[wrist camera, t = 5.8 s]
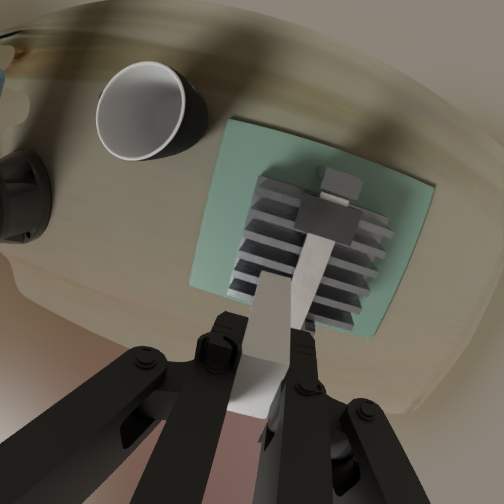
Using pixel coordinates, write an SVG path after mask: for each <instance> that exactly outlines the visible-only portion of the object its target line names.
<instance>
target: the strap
mask: <svg viewBox="0 0 504 504" xmlns="http://www.w3.org/2000/svg"><path fill="white" fill-rule="evenodd" d="M348 204H349V200H348V199H345V198H342V197H339V196H336V195H333V194H330V193H327V192H324V191H321V192H320V195H319V196H317V195H314V194H310V193H307V192H304V194H303V197H302V200H301V203H300V206H299V210H298V213H297V216H296V219H295V222H294V227H293V228H294V229H298V230H301V231H304V232H307V235H306V238H305V241H304V244H303V247H302V250H301V253H300V255H299V258H298V261H297V264H296V267H295V270H294V273H293V276H292V278H291V328H294V329H299V330H300V329H301V327H302V325H303V322H304V320H305V318H306V315H307V313H308V311H309V308H310V306H311V303H312V301H313V298H314V296H315V293H316V291H317V288H318V286H319V283H320V281H321V278H322V276H323V273H324V271H325V268H326V265H327V263H328V260H329V257H330V255H331V252H332V249H333V247H334V244H335V242H338V243H341V244H345V245H348V246H351V244H352V241H353V238H354V236H355V233H356V230H357V227H358V225H359V222H360V219H361V216H362V213H363V212H362V211H361V210H358V209H355V208H353V207H350V206H348Z"/></svg>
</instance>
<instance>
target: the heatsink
mask: <svg viewBox="0 0 504 504" xmlns="http://www.w3.org/2000/svg"><path fill="white" fill-rule="evenodd" d="M316 175H317V176H319V177H320V178H322V181H321V184H320V188H321V189H324V190H327V191H330V192H333V193H336V194H339V195H342V196H345V197H348V198H351V199H354V200H357V199H358V196H359V193H360V192H361V188H362V185H363V182H364V180H363V179H360V178H357V177H355V176H352V175H349V174H346V173H343V172H340V171H337V170H335V169H332V168H329V167H325V166H319V165H318V168H317V172H316ZM304 192H307V193H310V194H314V195H317V196H319V195H320V192H317V191H314V190H311V189H308V188H304V187H301V186H298V185H295V184H291V183H288V182H285V181H281V180H278V179H275V178H271V177H268V176H264V175H258V179H257V182H256V186H255V189H254V193H253V197H252V200H251V204H250V208H249V211H248V215H247V219H246V222H245V226H244V230H243V233H242V237H241V241H240V245H239V248H238V252H237V256H236V260H235V263H234V267H233V271H232V275H231V278H230V282H229V283H231V285H230V287H229V288H228V292H227V295H230V296H233V297H236V298H239V299H242V300H245V301H249V302H252V303H253V299H254V296H255V292H256V289H257V285H258V281H259V278H260V274H261V270H262V271H266V272H269V273H273V274H277V275H280V276H284V277H288V278H292V276H293V273H294V270H295V267H296V264H297V261H298V258H299V255H300V253H301V250H302V247H303V244H304V241H305V238H306V235H307V232H304V231H301V230H298V229H294V228H293V227H294V222H295V219H296V216H297V213H298V210H299V206H300V203H301V200H302V197H303V194H304ZM348 206H350V207H353V208H355V209H358V210H361V211H362V212H363V213H362V216H361V219H360V222H359V225H358V227H357V230H356V233H355V236H354V238H353V241H352V244H351V246H348V245H345V244H341V243H338V242H335V244H334V247H333V249H332V252H331V255H330V257H329V260H328V263H327V265H326V268H325V271H324V273H323V276H322V278H321V281H320V283H319V286H318V288H317V291H316V293H315V296H314V298H313V301H312V303H311V306H310V308H309V311H308V313H307V315H306V318H305V320H304V322H303V325H302V327H301V329H300V330H303V331H307V332H310V334H311V335H312V337H313V336H314V334H315V321H316V322H320V323H323V324H327V325H330V326H334V327H338V328H342V329H345V330H349V331H352V330H353V327H354V322H353V319H352V316H351V312H352V313H355V314H359V315H360V313H361V311H362V306H361V303H360V301H359V298H358V296H359V295H362V296H366V297H368V296H369V294H370V291H371V290H370V288H369V286H368V284H367V282H366V281H365V280H366V277H367V276H369V277H372V278H377V275H378V273H379V271H378V270H377V268H376V267H375V265H374V264H373V260H374V258H375V256H376V257H379V258H382V259H384V258H385V256H386V253H387V252H386V251H385V250H384V249H383V247H382V246H381V245H380V242H381V240H382V237H383V236H385V237H387V238H390V239H392V238H393V235H394V231H393V230H391V229H390V228H389V227H388V226H387V223H388V220H389V218H388V217H386V216H385V215H383V214H380V213H378V212H375V211H372V210H369V209H367V208H364V207H361V206H358V205H356V204H353V203H350V202H349V204H348Z"/></svg>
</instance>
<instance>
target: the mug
mask: <svg viewBox="0 0 504 504" xmlns="http://www.w3.org/2000/svg"><path fill="white" fill-rule="evenodd" d="M207 123H208V111H207V107H206V104H205V102H204V100H203V98H202V96H201V95H200V94H199V92H198V91H197V90H196V89H195V87H194V86H193V85H192V84H191V83H190V82H189V81H188V80H187V79H186V78H184V77H183V76H182V75H181V74H180V73H178V72H177V71H176V70H174V69H172V68H171V67H169V66H167V65H165V64H163V63H160V62H155V61H143V62H138V63H135V64H132V65H130V66H128V67H126V68H124V69H123V70H121V71H120V72H119V73H117V74H116V75H115V76H114V77H113V78H112V79H111V80H110V82H109V83H108V84H107V86H106V87H105V89H104V91H103V92H102V93H101V94H100V96H99V103H98V107H97V113H96V125H97V131H98V134H99V137H100V140H101V142H102V143H103V145H104V146H105V148H106V149H107V150H108V151H109V152H110V153H112V154H113V155H114V156H116V157H118V158H121V159H124V160H129V161H145V160H153V159H159V158H164V157H168V156H172V155H175V154H178V153H181V152H183V151H185V150H187V149H189V148H190V147H192V146H193V145H195V144H196V143H197V142H198V141H199V140H200V138H201V137H202V136H203V134H204V132H205V130H206V127H207Z"/></svg>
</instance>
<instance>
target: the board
mask: <svg viewBox="0 0 504 504" xmlns="http://www.w3.org/2000/svg"><path fill="white" fill-rule="evenodd" d="M318 165H319V166H325V167H329V168H332V169H335V170H337V171H340V172H343V173H346V174H349V175H352V176H355V177H357V178H360V179H363V180H364V182H363V185H362V188H361V192H360V193H359V196H358V199H357V200H354V199H351V198H348V197H345V196H342V195H339V194H336V193H333V192H330V191H327V190H324V189H321V188H320V184H321V181H322V178H320V177H319V176H317V175H316V172H317V168H318ZM258 175H264V176H268V177H271V178H275V179H278V180H281V181H285V182H288V183H291V184H295V185H298V186H301V187H304V188H308V189H311V190H314V191H317V192H321V191H324V192H327V193H330V194H333V195H336V196H339V197H342V198H345V199H348V200H349V202H350V203H353V204H356V205H358V206H361V207H364V208H367V209H369V210H372V211H375V212H378V213H380V214H383V215H385V216H386V217H388V218H389V220H388V223H387V226H388V227H389V228H390V229H391V230H393V231H394V235H393V238H392V239H390V238H387V237H385V236H383V237H382V240H381V242H380V245H381V246H382V247H383V249H384V250H385V251H386V252H387V253H386V256H385V258H384V259H382V258H379V257H376V256H375V258H374V260H373V264H374V265H375V267H376V268H377V270H378V271H379V273H378V275H377V278H372V277H369V276H367V277H366V280H365V281H366V282H367V284H368V286H369V288H370V290H371V291H370V294H369V296H368V297H366V296H362V295H359V296H358V298H359V301H360V303H361V306H362V311H361V313H360V315H359V314H355V313H352V312H351V316H352V319H353V322H354V327H353V330H352V331H349V330H345V329H342V328H338V327H334V326H330V325H327V324H323V323H320V322H316V321H315V324H316V325H320V326H323V327H327V328H331V329H334V330H338V331H342V332H346V333H349V334H353V335H357V336H361V337H365V338H369V339H372V337H373V335H374V333H375V331H376V330H377V328H378V326H379V324H380V322H381V320H382V318H383V316H384V314H385V312H386V310H387V308H388V306H389V304H390V302H391V299H392V297H393V295H394V293H395V291H396V289H397V286H398V284H399V282H400V280H401V277H402V275H403V273H404V271H405V268H406V266H407V263H408V261H409V259H410V256H411V254H412V251H413V249H414V246H415V244H416V241H417V238H418V236H419V233H420V230H421V228H422V225H423V222H424V219H425V216H426V213H427V211H428V208H429V205H430V201H431V198H432V195H433V192H434V189H435V188H433V187H431V186H429V185H427V184H424V183H422V182H420V181H418V180H415V179H413V178H411V177H409V176H406V175H404V174H402V173H399V172H397V171H394V170H392V169H390V168H387V167H385V166H382V165H380V164H377V163H374V162H372V161H369V160H367V159H364V158H361V157H359V156H356V155H353V154H350V153H347V152H345V151H342V150H339V149H336V148H333V147H330V146H327V145H324V144H321V143H318V142H314V141H311V140H308V139H305V138H301V137H298V136H294V135H291V134H287V133H284V132H280V131H277V130H273V129H269V128H265V127H261V126H257V125H253V124H249V123H245V122H241V121H236V120H232V119H228V120H227V124H226V127H225V131H224V135H223V138H222V142H221V146H220V150H219V154H218V157H217V161H216V165H215V169H214V173H213V177H212V181H211V185H210V189H209V194H208V198H207V202H206V206H205V211H204V215H203V219H202V224H201V228H200V233H199V237H198V242H197V247H196V251H195V256H194V261H193V266H192V271H191V276H190V281H189V285H190V286H193V287H196V288H199V289H202V290H205V291H208V292H211V293H214V294H217V295H220V296H223V297H226V298H229V299H233V300H236V301H239V302H242V303H245V304H248V305H252V302H249V301H245V300H242V299H239V298H236V297H233V296H230V295H227V292H228V288H229V287H230V285H231V283H229V282H230V278H231V275H232V271H233V267H234V263H235V260H236V256H237V252H238V248H239V245H240V241H241V237H242V233H243V230H244V226H245V222H246V219H247V215H248V211H249V208H250V204H251V200H252V197H253V193H254V189H255V186H256V182H257V179H258Z"/></svg>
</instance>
